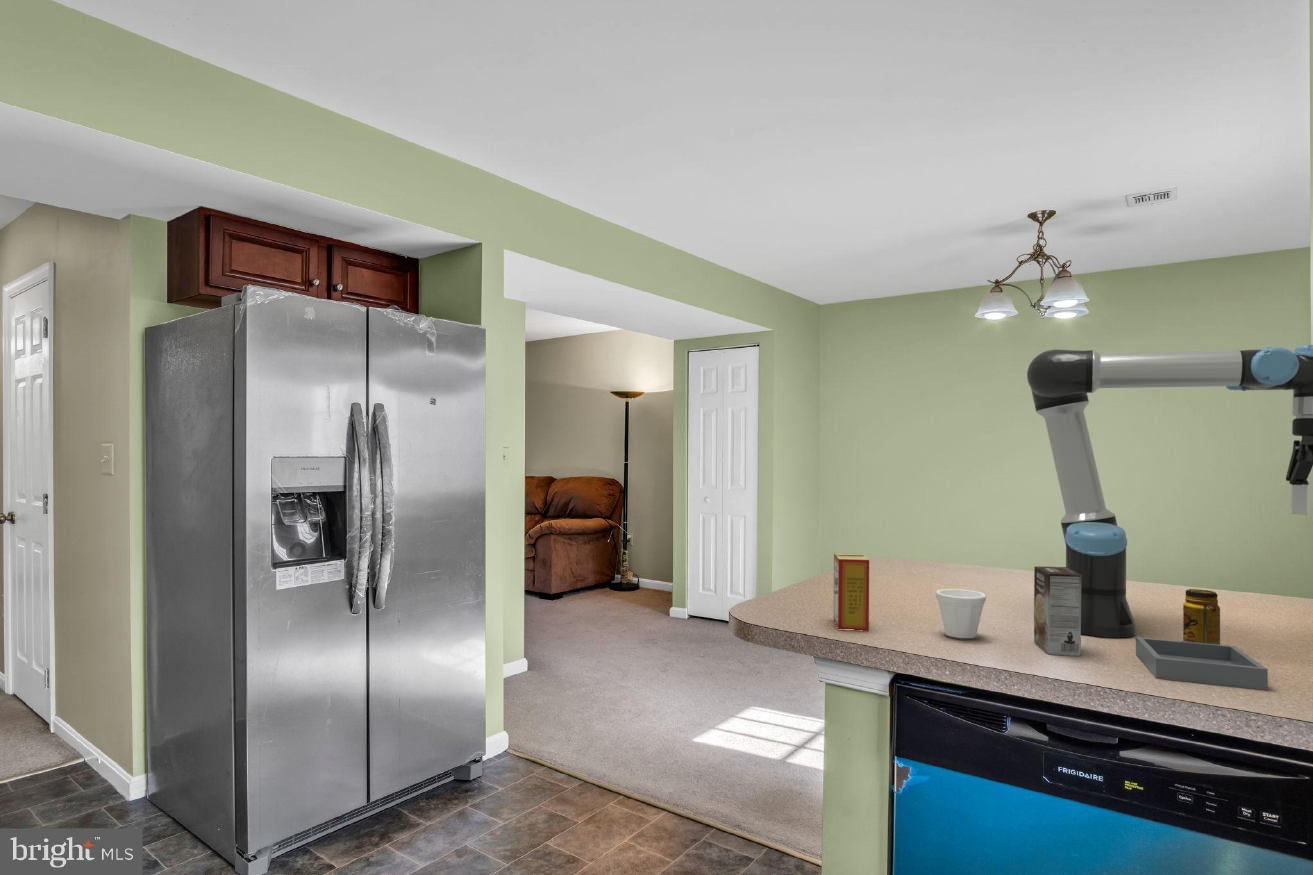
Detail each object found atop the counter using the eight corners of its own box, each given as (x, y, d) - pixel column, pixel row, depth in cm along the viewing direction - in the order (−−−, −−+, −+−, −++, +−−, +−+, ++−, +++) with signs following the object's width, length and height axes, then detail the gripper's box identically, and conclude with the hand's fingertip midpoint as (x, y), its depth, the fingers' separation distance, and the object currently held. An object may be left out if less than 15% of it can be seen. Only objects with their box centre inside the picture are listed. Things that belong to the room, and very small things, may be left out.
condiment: (1172, 646, 153) (1172, 588, 153) (1207, 644, 154) (1208, 587, 154) (1203, 656, 146) (1203, 595, 146) (1240, 654, 147) (1240, 594, 147)
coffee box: (1032, 642, 155) (1032, 565, 155) (1065, 644, 153) (1065, 566, 154) (1047, 654, 145) (1047, 572, 146) (1082, 656, 144) (1083, 574, 145)
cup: (975, 645, 152) (976, 599, 152) (927, 636, 159) (928, 593, 159) (992, 636, 159) (992, 593, 159) (946, 628, 166) (946, 586, 166)
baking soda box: (868, 631, 163) (869, 558, 163) (838, 630, 163) (838, 557, 164) (862, 621, 172) (862, 552, 172) (833, 620, 173) (834, 551, 173)
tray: (1155, 678, 131) (1155, 658, 131) (1135, 654, 146) (1135, 636, 146) (1267, 690, 125) (1267, 669, 125) (1234, 664, 140) (1235, 645, 140)
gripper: (1370, 415, 145) (1367, 524, 145) (1310, 419, 168) (1307, 513, 168) (1322, 415, 148) (1319, 521, 148) (1269, 419, 171) (1266, 511, 171)
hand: (1312, 517), depth 158 cm, fingers open, 13 cm apart
